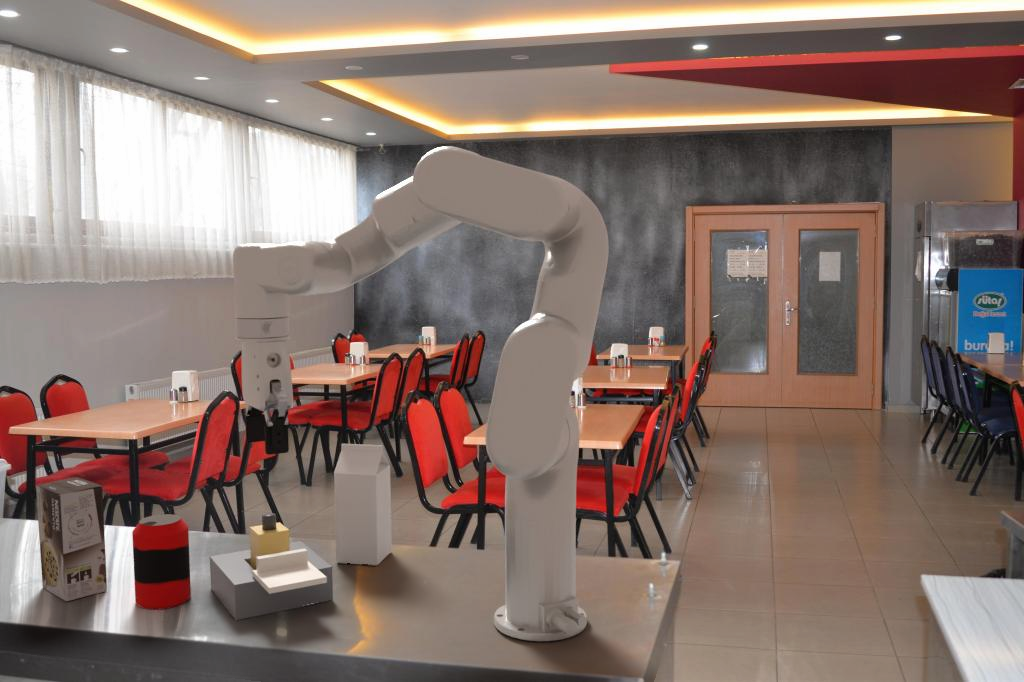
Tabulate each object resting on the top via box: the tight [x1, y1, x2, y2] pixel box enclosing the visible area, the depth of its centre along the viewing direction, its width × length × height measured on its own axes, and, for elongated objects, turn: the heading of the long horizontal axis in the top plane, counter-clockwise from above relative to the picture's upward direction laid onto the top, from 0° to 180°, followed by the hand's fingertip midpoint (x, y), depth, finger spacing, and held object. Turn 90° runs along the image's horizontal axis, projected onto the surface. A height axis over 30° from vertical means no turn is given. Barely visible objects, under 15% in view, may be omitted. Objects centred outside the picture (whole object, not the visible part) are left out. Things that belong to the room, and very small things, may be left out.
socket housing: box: [209, 540, 334, 621], centre depth 138 cm, size 14×14×5 cm
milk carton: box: [333, 443, 393, 566], centre depth 154 cm, size 7×7×19 cm
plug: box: [249, 512, 291, 570], centre depth 138 cm, size 4×4×12 cm
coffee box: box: [35, 476, 108, 602], centre depth 140 cm, size 9×6×16 cm
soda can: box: [131, 513, 192, 610], centre depth 136 cm, size 8×8×12 cm
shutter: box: [252, 548, 327, 594], centre depth 130 cm, size 8×8×3 cm
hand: (266, 447), depth 137 cm, fingers open, 9 cm apart
